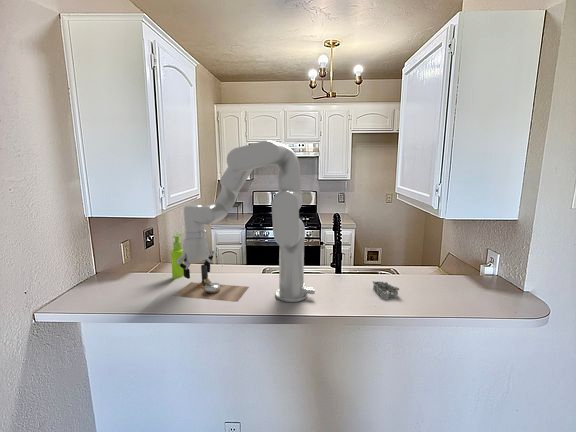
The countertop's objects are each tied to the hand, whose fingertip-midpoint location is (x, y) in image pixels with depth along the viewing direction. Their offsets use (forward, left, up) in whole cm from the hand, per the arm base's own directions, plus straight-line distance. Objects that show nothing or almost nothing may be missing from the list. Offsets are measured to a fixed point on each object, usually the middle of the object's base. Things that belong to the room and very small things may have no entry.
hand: (197, 274), depth 127 cm
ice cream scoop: (-6, +2, -4) cm, 8 cm away
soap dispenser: (+14, -9, -6) cm, 18 cm away
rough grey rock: (-77, -9, -6) cm, 77 cm away
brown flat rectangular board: (-9, +6, -6) cm, 12 cm away
